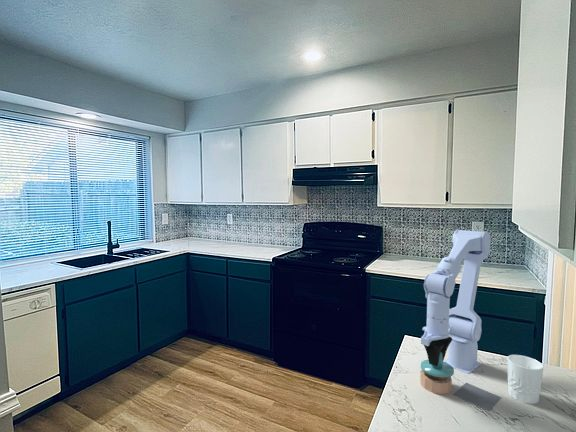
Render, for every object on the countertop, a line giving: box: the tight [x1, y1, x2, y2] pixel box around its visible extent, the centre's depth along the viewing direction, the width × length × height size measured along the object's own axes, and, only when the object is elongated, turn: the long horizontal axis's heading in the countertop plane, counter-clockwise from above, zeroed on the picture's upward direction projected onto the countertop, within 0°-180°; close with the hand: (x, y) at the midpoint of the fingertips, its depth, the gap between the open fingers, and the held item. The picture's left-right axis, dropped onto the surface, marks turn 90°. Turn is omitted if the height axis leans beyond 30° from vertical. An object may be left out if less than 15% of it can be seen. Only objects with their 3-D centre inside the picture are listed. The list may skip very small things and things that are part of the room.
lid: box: [420, 352, 455, 378], centre depth 92 cm, size 9×9×5 cm
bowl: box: [419, 369, 453, 395], centre depth 93 cm, size 8×8×3 cm
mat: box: [452, 382, 502, 412], centre depth 88 cm, size 9×9×1 cm
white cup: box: [506, 354, 544, 405], centre depth 88 cm, size 8×8×10 cm
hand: (436, 362), depth 92 cm, fingers closed on lid, 3 cm apart
